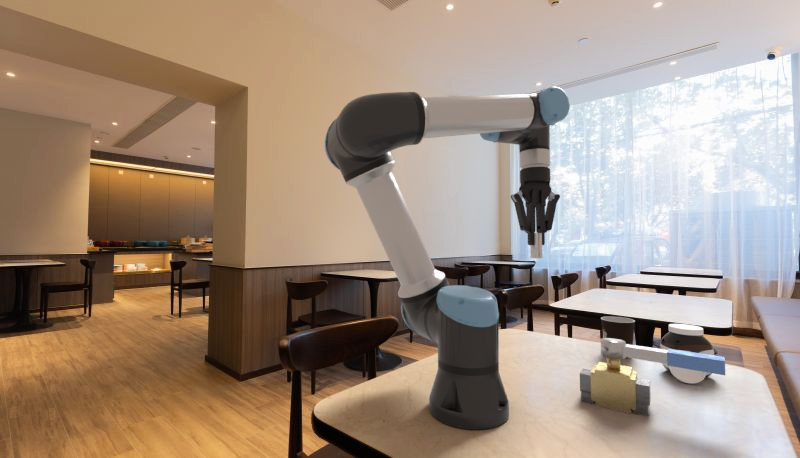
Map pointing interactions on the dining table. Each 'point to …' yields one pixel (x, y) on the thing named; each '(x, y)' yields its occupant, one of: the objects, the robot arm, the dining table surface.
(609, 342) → the lever
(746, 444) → the dining table surface
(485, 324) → the robot arm
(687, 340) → the spread jar
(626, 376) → the valve body
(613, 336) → the coffee mug
